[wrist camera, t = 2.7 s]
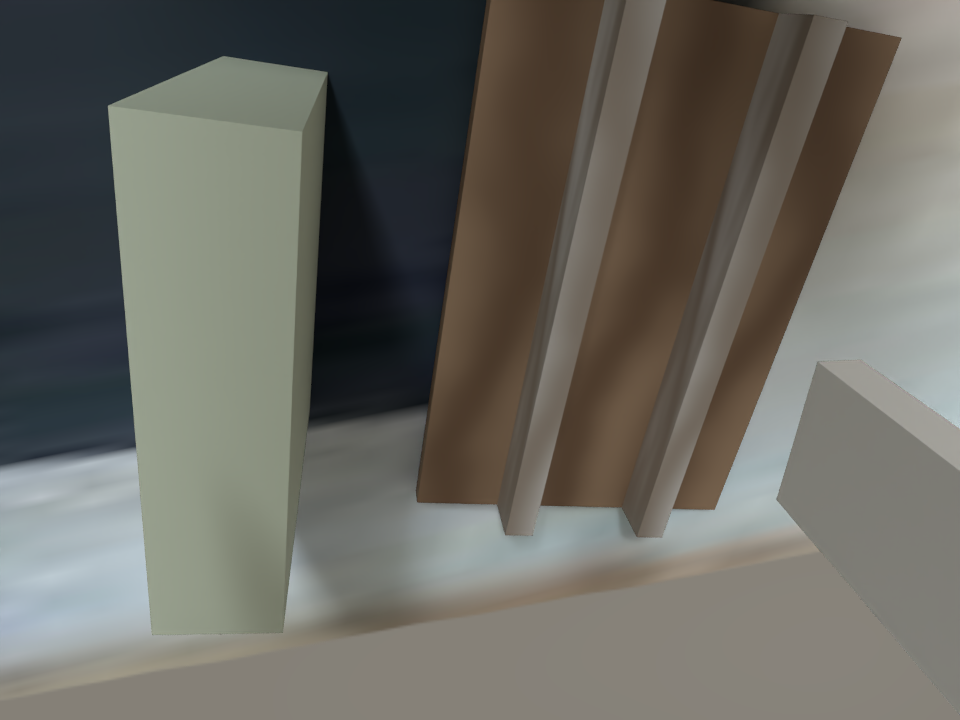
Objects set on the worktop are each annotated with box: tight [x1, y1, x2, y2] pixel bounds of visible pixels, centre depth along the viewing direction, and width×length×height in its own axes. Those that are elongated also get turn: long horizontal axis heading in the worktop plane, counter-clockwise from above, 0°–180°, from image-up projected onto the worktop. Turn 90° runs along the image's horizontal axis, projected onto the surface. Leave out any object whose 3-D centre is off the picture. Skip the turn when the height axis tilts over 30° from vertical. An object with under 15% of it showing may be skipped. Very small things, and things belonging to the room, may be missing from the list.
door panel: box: [108, 56, 328, 635], centre depth 24 cm, size 4×16×14 cm, turn 171°
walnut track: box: [416, 0, 901, 538], centre depth 32 cm, size 18×26×4 cm
